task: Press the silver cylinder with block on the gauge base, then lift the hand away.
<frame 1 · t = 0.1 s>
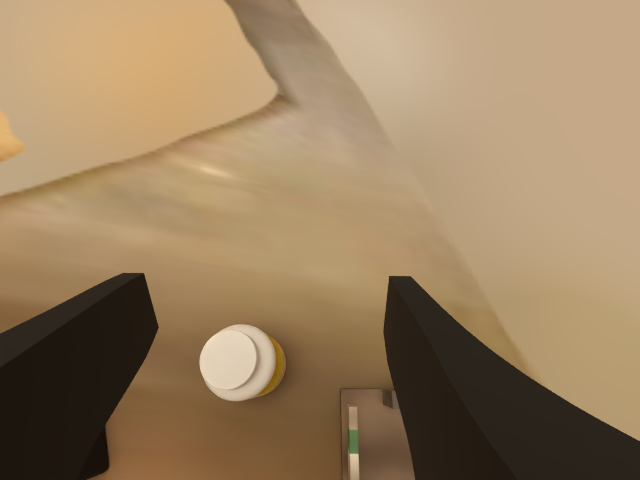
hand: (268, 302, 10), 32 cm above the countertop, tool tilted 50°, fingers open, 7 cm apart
supplement bottle: (258, 364, 40), on the countertop
gauge base: (424, 468, 36), on the countertop
battery: (87, 442, 37), on the countertop
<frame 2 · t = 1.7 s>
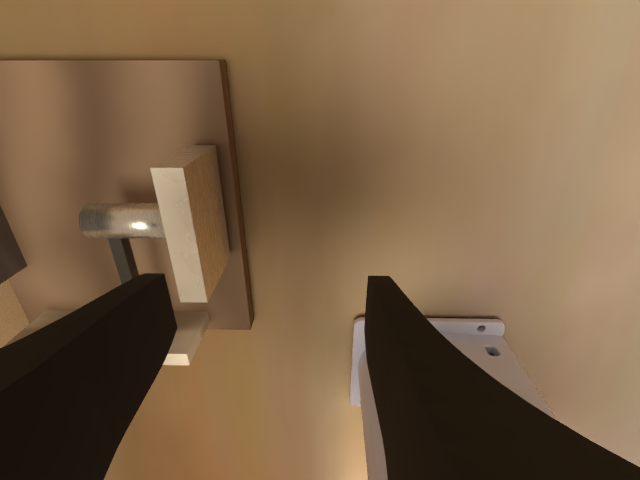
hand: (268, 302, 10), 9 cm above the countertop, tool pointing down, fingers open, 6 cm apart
silver cylinder with block: (159, 254, 17), point 3 cm above the countertop, slide at 0.0 cm
gauge base: (121, 194, 19), on the countertop
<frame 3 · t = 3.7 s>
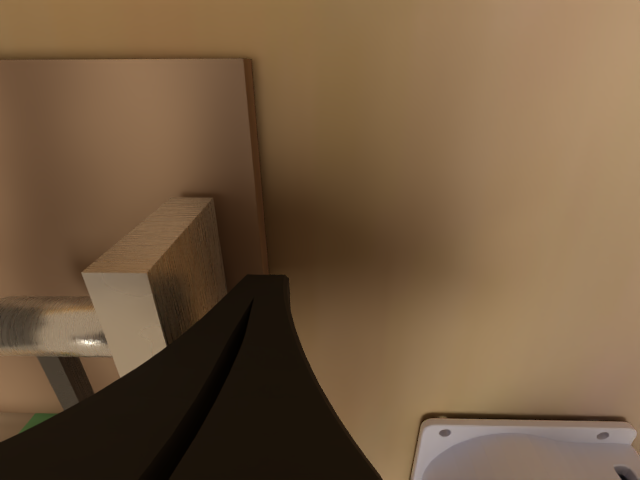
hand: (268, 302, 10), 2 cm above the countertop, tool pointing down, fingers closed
silver cylinder with block: (124, 371, 10), point 3 cm above the countertop, slide at 0.6 cm, touching gripper
gauge base: (90, 260, 13), on the countertop
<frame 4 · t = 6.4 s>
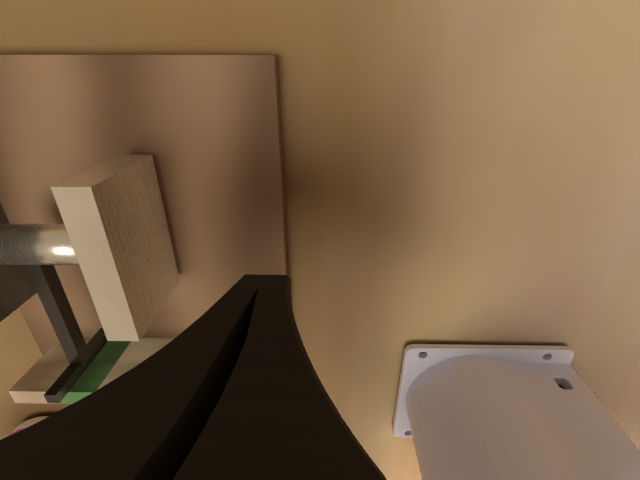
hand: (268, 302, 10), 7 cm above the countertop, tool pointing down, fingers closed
silver cylinder with block: (89, 282, 14), point 3 cm above the countertop, slide at 4.5 cm
gauge base: (149, 210, 16), on the countertop
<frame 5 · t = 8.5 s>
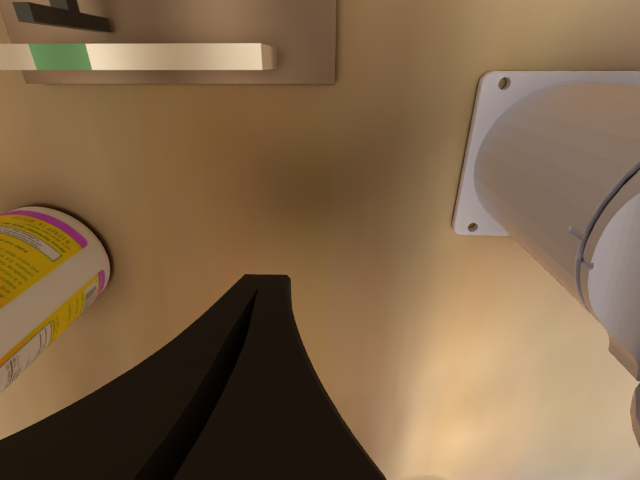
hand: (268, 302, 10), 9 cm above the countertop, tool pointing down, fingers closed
supplement bottle: (62, 252, 21), on the countertop
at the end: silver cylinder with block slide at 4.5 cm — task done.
